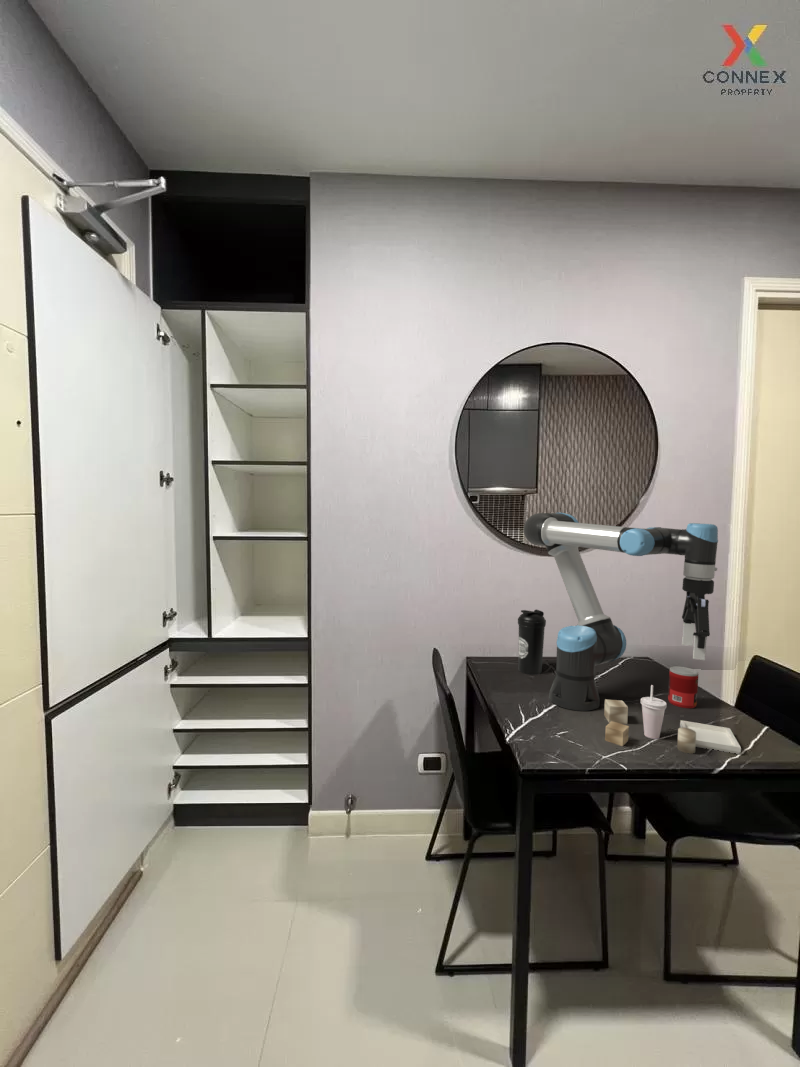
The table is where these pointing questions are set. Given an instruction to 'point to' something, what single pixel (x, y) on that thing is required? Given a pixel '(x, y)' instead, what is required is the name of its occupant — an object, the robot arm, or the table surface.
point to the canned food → (683, 687)
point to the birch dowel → (686, 740)
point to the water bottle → (531, 641)
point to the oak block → (616, 733)
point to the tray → (713, 737)
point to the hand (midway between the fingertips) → (692, 652)
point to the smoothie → (652, 715)
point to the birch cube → (616, 711)
